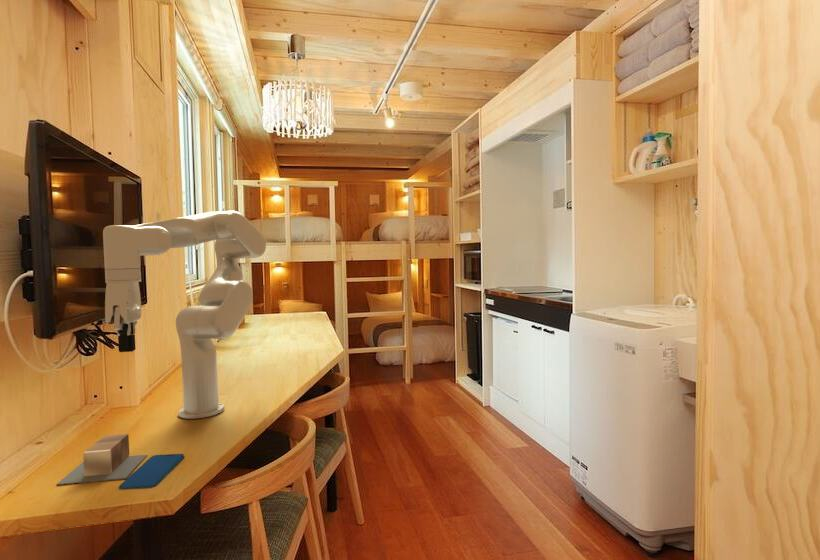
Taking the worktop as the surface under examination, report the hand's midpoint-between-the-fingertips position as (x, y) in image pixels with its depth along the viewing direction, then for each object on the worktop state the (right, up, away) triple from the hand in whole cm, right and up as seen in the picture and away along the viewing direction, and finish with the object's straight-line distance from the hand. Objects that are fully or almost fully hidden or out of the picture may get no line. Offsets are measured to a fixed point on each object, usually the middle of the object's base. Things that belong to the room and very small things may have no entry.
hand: (127, 351), depth 119 cm
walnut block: (+2, -21, -7) cm, 22 cm away
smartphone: (+15, -24, -15) cm, 32 cm away
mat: (+3, -24, -14) cm, 28 cm away
